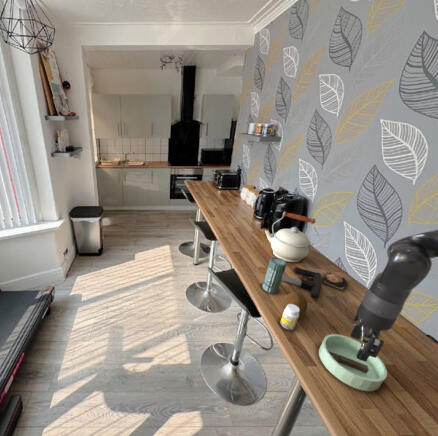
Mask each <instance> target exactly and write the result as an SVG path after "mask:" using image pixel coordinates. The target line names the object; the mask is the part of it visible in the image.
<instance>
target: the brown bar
mask: <svg viewBox="0 0 438 436" xmlns="http://www.w3.org/2000/svg"><path fill="white" fill-rule="evenodd" d="M328 352H329V353H330V355H331V356H332V357H333V358H334V359H335V360H336V361H337V362H338V363H342V364H344V365H347V366H349V367H352V368H354V369H357V370H360V371H362V372H365V373H367V372H368V370H369V369H368V366H367V365H364V364H362V363H359V362H357V361H354V360H351V359H349V358H346V357H344V356H341V355H338V354H335V353H332V352H330V351H328Z"/></svg>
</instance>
